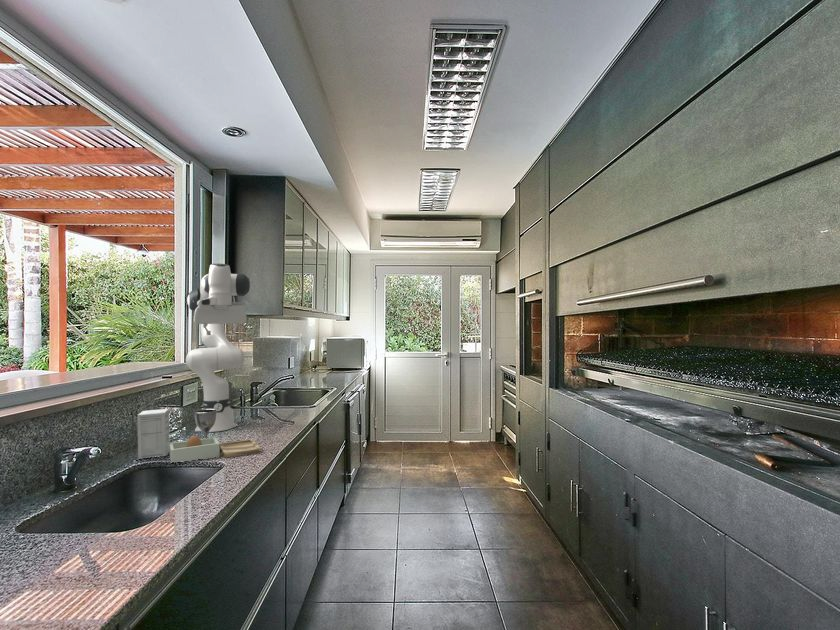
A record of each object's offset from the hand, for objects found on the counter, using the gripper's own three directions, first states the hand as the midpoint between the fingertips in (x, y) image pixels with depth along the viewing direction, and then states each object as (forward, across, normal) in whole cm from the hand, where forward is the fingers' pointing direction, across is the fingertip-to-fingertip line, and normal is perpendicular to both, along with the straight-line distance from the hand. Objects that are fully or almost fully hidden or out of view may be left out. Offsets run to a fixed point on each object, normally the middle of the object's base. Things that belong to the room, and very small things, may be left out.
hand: (220, 334), depth 192 cm
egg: (+46, +12, +14) cm, 49 cm away
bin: (+46, +12, +14) cm, 49 cm away
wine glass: (+46, +6, +3) cm, 46 cm away
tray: (+46, -4, +14) cm, 48 cm away
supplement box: (+46, +24, +3) cm, 52 cm away
